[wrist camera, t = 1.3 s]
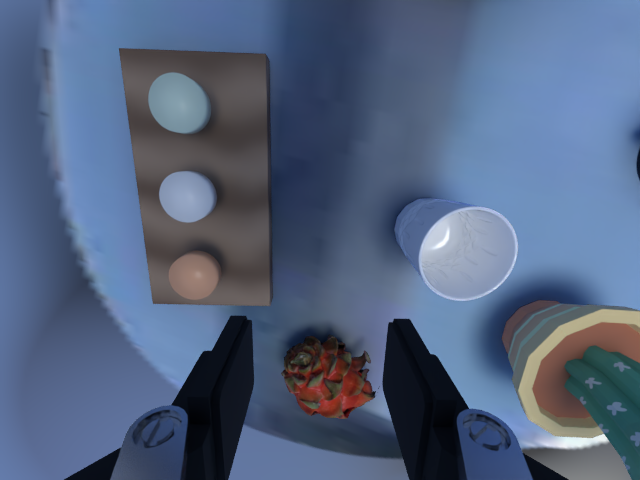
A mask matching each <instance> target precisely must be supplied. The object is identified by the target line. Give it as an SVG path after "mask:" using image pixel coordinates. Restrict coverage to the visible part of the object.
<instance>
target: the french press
mask: <svg viewBox="0 0 640 480" xmlns="http://www.w3.org/2000/svg"><path fill="white" fill-rule="evenodd" d="M637 168H638V175H639V178H640V151H639V155H638V162H637Z"/></svg>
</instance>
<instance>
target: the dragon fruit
mask: <svg viewBox="0 0 640 480" xmlns="http://www.w3.org/2000/svg"><path fill="white" fill-rule="evenodd" d="M344 351H345V344H344V343H342V342H340V343H339V342H337V339H336V338H335V337H334V336H333V335H328V340H327V341H326V342H324V343H320V341H319V340H318V339H317V338H315V337H313V336H307V337H306V338H305V341H304V343H303V344H301V343H299V344H297V345H296V346H293V347H292V348H290V349H289V350H288V351H287V355H286V356H285V357H284V367H285V370H284V371H283V372H282V373H281V374H282V376H284V379H285V383H286V385H287V388H288V390H289V392H290V393H293V394H295V396H296V399H297V402H298V404H299V406H300V407H301V409H302V410H304V411H305V412H306V413H307V414H308V415H310V416H312V415H315V414H321V415H322V416H324V417H327V418H336V417H337V418H340V419H346V418H348V416H349V414H350V412H351V411H353V410H354V409H355V408H357V407H360V406H362V405H364V404H365V403H366V402H367V401H370V400H372V399H373V398H375V392H376V391H375V392H374V391H373V392H372V386H371V383H370V382H369V381H367V380H366V378H367V373H368V371H369V369H365V370H361V368H362V367H363V366H364V365H365V363H366V361H367V362H368V363H371V360H370V358H369V355H368V353H367V352H366V351H364V354H363V355H362V356H361V357H353V358H351V353H349V352H344ZM378 389H379V388H378Z"/></svg>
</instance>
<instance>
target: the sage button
mask: <svg viewBox="0 0 640 480" xmlns="http://www.w3.org/2000/svg"><path fill="white" fill-rule="evenodd" d="M148 102H149V107H150V110H151V113H152V115H153V117H154V118H155V119H156V121H157V122H158V123H159V124H160V125H161V126H163V127H164V128H166V129H167V130H170V131H173V132H177V133H182V134H194V133H197V132H199V131H201V130H202V129H203V128H204V127H205V126H206V125H207V123H208V121H209V119H210V116H211V103H210V99H209V97H208V95H207V93H206V91H205V90H204V89H203V88H202V87H201V86H200V85H199V84H198V83H196V82H195V81H193V80H192V79H190V78H189V77H187V76H185V75H183V74H180V73H174V72H173V73H166V74H163V75H161V76H159V77H158V78H157V79H156V80H155V81H154V82H153V84H152V85H151V87H150V90H149V96H148Z"/></svg>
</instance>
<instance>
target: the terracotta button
mask: <svg viewBox="0 0 640 480" xmlns="http://www.w3.org/2000/svg"><path fill="white" fill-rule="evenodd" d="M221 276H222V272H221V267H220V265H219V263H218V261H217V260H216V259H215V258H214V257H213V256H212V255H210V254H208V253H206V252H203V251H190V252H188V253H186V254H184V255H183V256H181V257H180V258H179V259H177V260H176V261H175V262H174V263H173V264H172V265H171V267H170V269H169V282H170V284H171V286H172V288H173V289H174V290H175V292H177V293H178V294H179V295H180V296H182V297H184V298H187V299H191V300H198V299H203V298H205V297H207V296H209V295H210V294H211V293H212V292H213V290H214V289H215V288H216V287H217V285H218V284H219V282H220V280H221Z"/></svg>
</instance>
